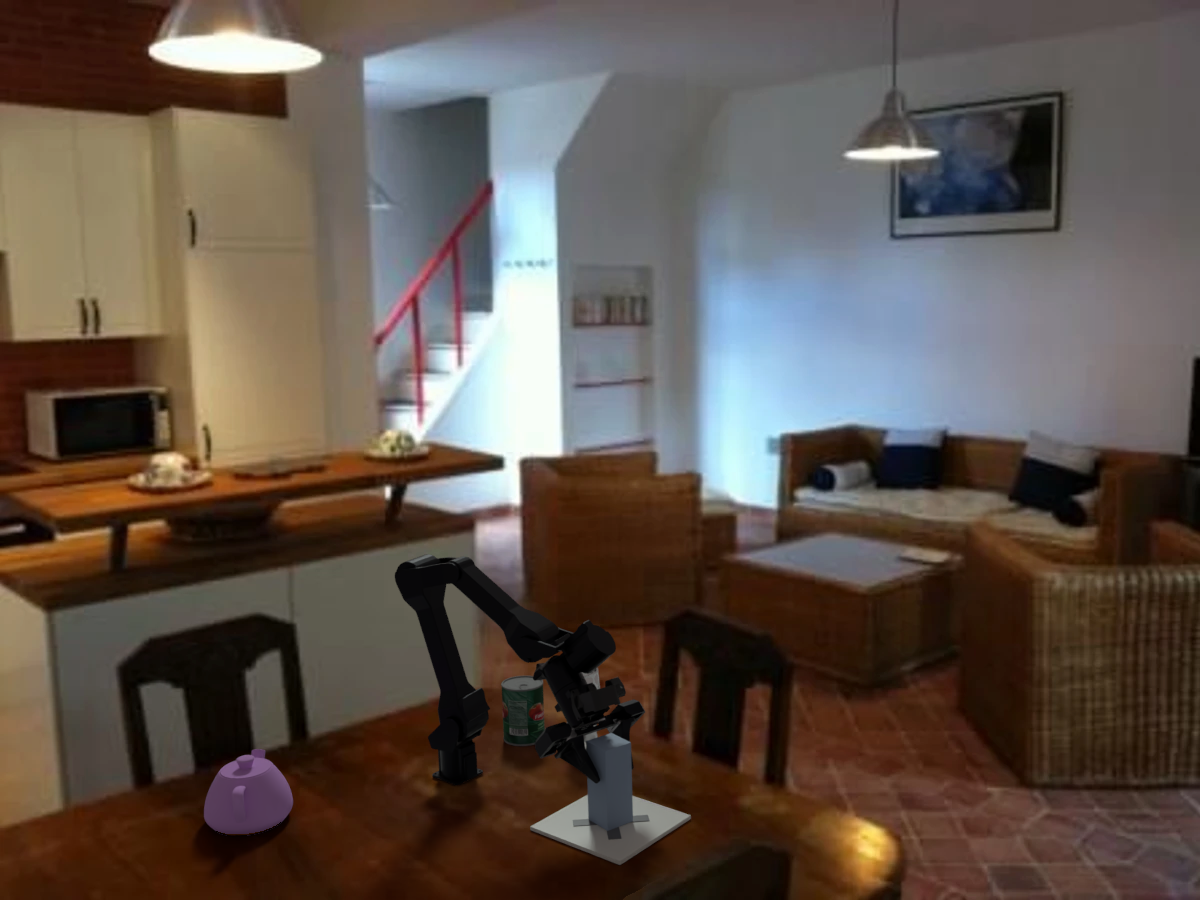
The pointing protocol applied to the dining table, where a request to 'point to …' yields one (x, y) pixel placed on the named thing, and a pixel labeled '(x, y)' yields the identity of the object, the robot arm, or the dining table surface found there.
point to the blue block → (610, 782)
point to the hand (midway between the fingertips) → (615, 776)
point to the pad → (614, 843)
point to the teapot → (247, 796)
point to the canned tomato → (522, 710)
